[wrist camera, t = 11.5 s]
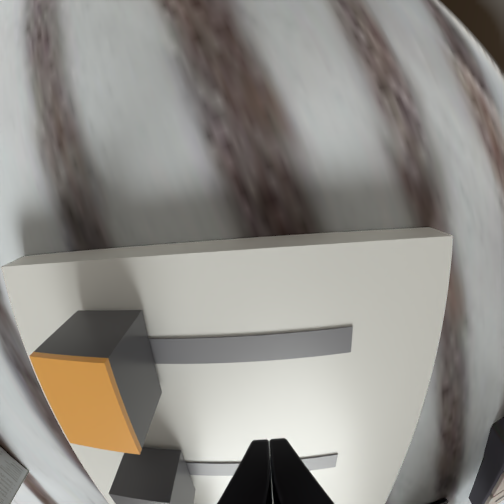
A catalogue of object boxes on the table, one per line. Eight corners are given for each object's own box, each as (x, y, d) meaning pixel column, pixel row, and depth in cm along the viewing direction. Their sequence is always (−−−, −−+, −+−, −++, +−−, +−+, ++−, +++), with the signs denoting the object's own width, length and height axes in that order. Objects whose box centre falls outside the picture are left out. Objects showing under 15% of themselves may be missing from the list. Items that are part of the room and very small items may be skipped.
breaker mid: (181, 449, 14) (169, 503, 10) (195, 489, 15) (188, 536, 11) (127, 445, 14) (108, 493, 10) (147, 485, 15) (135, 529, 11)
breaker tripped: (142, 309, 12) (104, 363, 8) (162, 392, 13) (139, 454, 9) (78, 310, 12) (28, 356, 8) (102, 388, 13) (70, 442, 9)
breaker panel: (430, 227, 13) (454, 236, 11) (367, 510, 19) (372, 528, 17) (24, 255, 14) (0, 267, 12) (137, 517, 19) (133, 534, 17)
